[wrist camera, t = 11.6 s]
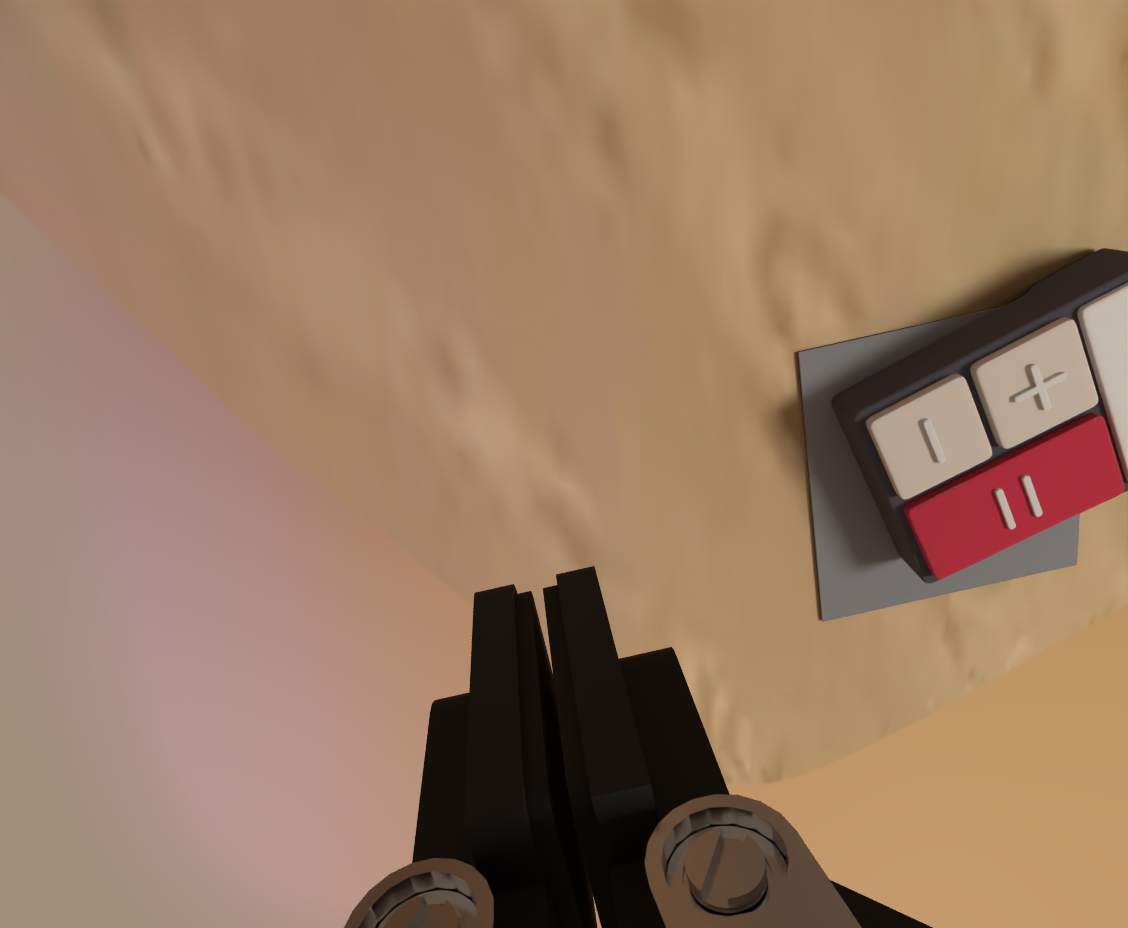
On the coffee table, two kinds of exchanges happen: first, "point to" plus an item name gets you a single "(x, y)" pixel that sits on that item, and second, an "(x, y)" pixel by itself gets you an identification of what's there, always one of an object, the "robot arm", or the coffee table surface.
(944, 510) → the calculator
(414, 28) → the coffee table surface
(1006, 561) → the desk mat
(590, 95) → the coffee table surface
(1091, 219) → the coffee table surface
